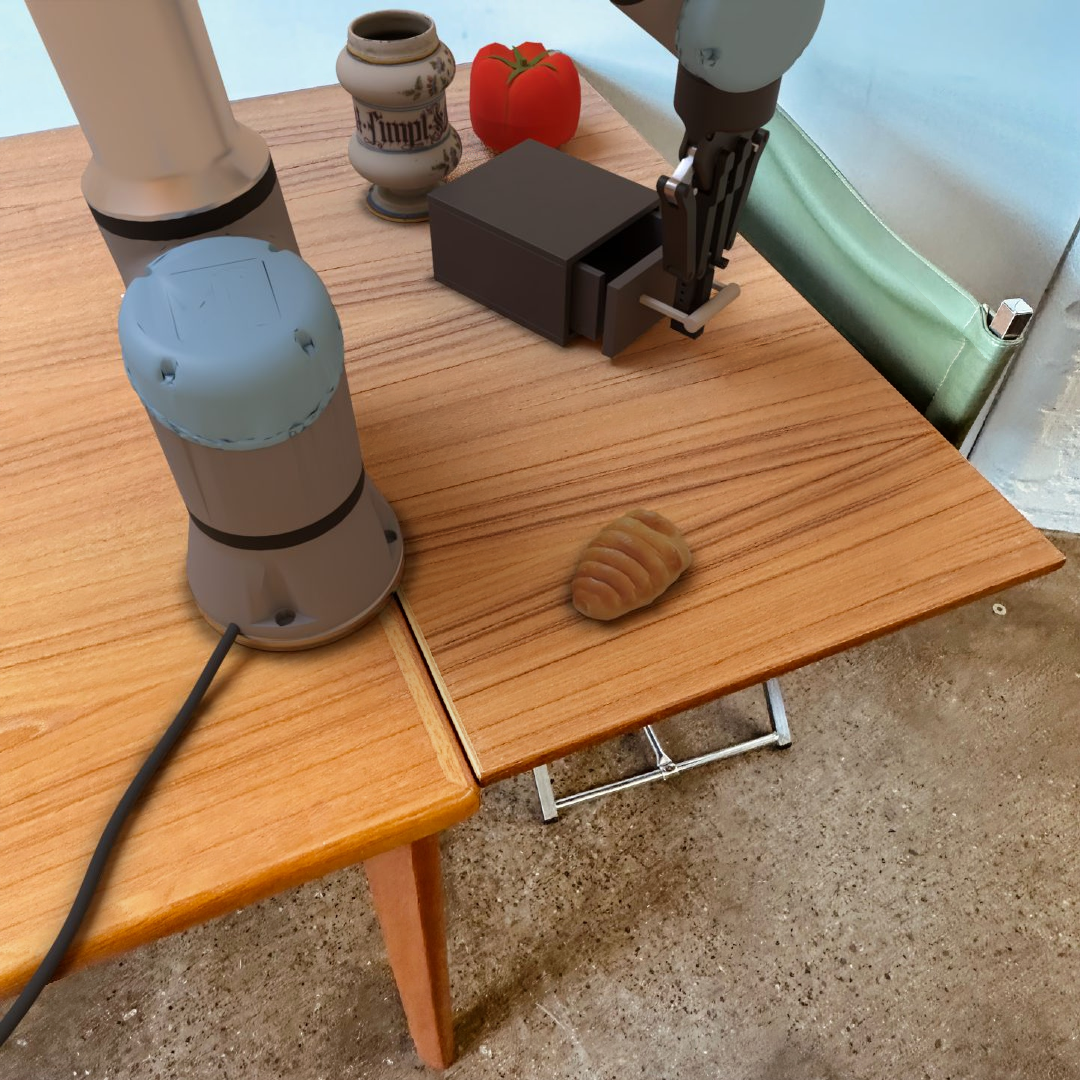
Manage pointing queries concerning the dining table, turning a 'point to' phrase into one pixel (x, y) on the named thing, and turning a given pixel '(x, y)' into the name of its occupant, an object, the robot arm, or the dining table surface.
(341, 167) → the dining table surface
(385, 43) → the apothecary jar
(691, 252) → the robot arm
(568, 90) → the tomato
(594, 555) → the pastry
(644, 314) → the drawer
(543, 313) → the cabinet
